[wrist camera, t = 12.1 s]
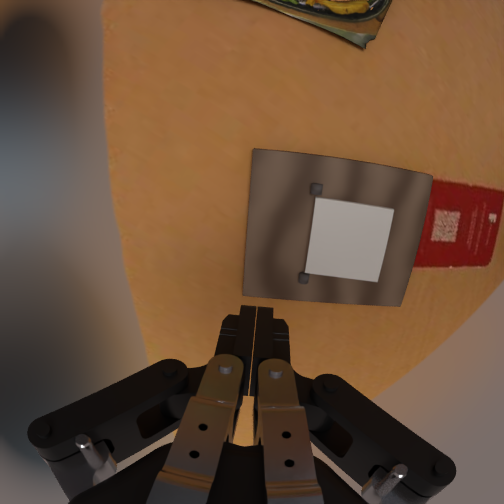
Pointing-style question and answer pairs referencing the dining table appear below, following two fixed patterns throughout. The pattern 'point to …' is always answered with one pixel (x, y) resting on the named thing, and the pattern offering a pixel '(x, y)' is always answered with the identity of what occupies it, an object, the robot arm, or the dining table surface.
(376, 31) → the prepared meal
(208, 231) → the dining table surface
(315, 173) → the walnut board
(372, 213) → the tile
